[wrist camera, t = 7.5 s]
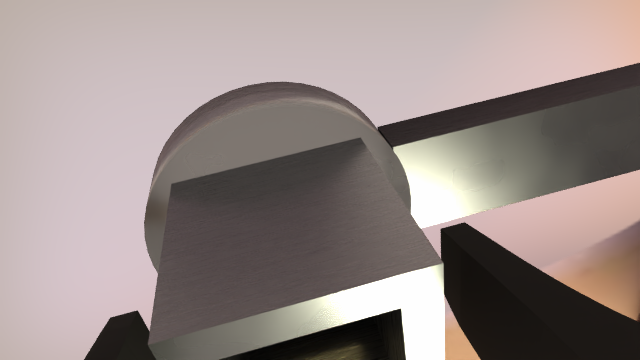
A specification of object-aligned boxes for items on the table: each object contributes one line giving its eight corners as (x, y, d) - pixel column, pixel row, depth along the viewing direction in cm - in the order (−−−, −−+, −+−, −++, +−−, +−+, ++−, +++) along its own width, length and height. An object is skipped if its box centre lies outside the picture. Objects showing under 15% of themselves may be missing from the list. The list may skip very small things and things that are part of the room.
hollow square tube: (360, 137, 12) (443, 263, 8) (377, 273, 14) (445, 421, 10) (171, 183, 11) (147, 345, 7) (225, 314, 14) (231, 488, 10)
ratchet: (716, -23, 14) (900, 2, 10) (655, 183, 18) (769, 254, 14) (109, 117, 12) (65, 207, 8) (196, 308, 16) (193, 424, 12)
